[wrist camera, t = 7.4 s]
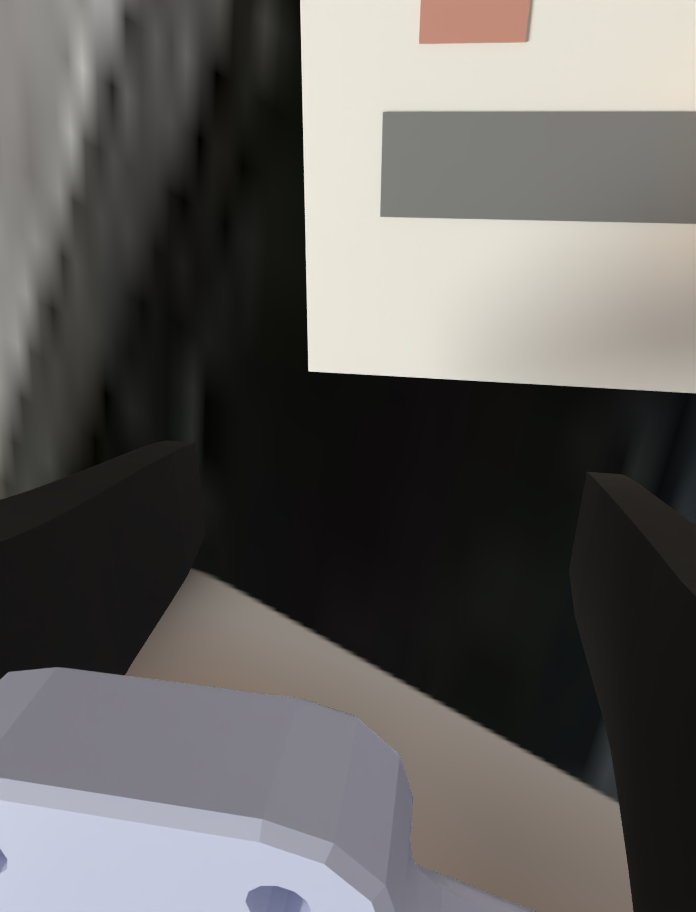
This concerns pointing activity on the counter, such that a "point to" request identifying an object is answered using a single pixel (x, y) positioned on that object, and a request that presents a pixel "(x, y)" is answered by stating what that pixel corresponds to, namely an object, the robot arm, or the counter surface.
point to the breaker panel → (502, 190)
